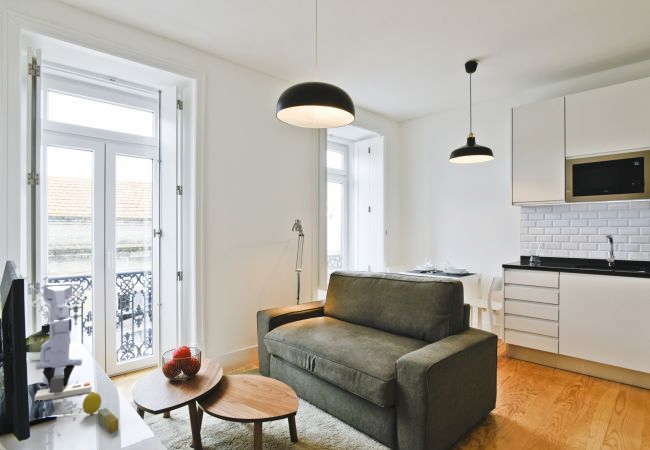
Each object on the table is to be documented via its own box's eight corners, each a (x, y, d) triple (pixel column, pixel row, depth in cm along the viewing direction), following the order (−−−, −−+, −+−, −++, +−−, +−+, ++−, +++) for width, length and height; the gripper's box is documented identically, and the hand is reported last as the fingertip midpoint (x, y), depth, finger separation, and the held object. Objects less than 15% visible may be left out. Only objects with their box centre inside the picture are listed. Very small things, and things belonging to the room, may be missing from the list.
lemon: (91, 419, 124) (92, 395, 124) (78, 417, 125) (79, 394, 125) (104, 412, 129) (105, 389, 130) (91, 410, 130) (92, 388, 131)
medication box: (97, 421, 123) (97, 410, 123) (106, 418, 125) (106, 407, 125) (109, 434, 115) (109, 421, 115) (119, 430, 117) (119, 418, 117)
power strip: (37, 398, 142) (37, 388, 142) (91, 388, 151) (91, 379, 152) (34, 404, 136) (34, 395, 136) (90, 394, 145) (90, 385, 146)
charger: (54, 393, 139) (55, 375, 139) (66, 391, 140) (67, 374, 141) (49, 398, 134) (50, 379, 135) (61, 396, 135) (62, 378, 136)
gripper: (32, 355, 132) (31, 392, 131) (78, 351, 137) (77, 387, 136) (40, 350, 139) (39, 385, 138) (84, 346, 144) (82, 380, 143)
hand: (58, 386), depth 137 cm, fingers closed on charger, 4 cm apart
